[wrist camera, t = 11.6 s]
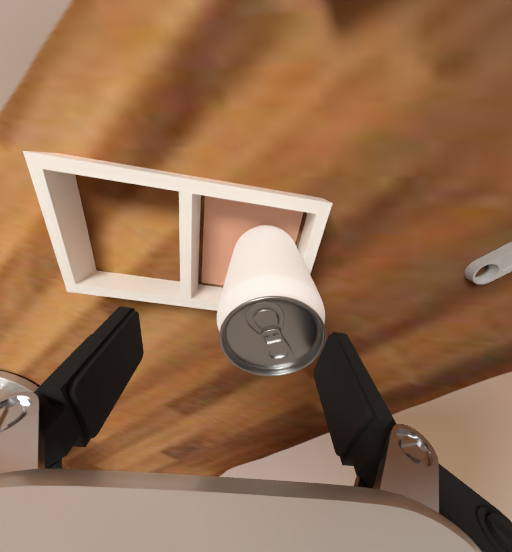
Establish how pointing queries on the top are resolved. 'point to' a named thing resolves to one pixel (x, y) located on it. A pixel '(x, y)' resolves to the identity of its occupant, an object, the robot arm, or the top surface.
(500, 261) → the adjustable wrench
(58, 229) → the caddy
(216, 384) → the top surface
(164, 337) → the top surface
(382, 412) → the robot arm
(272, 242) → the can
